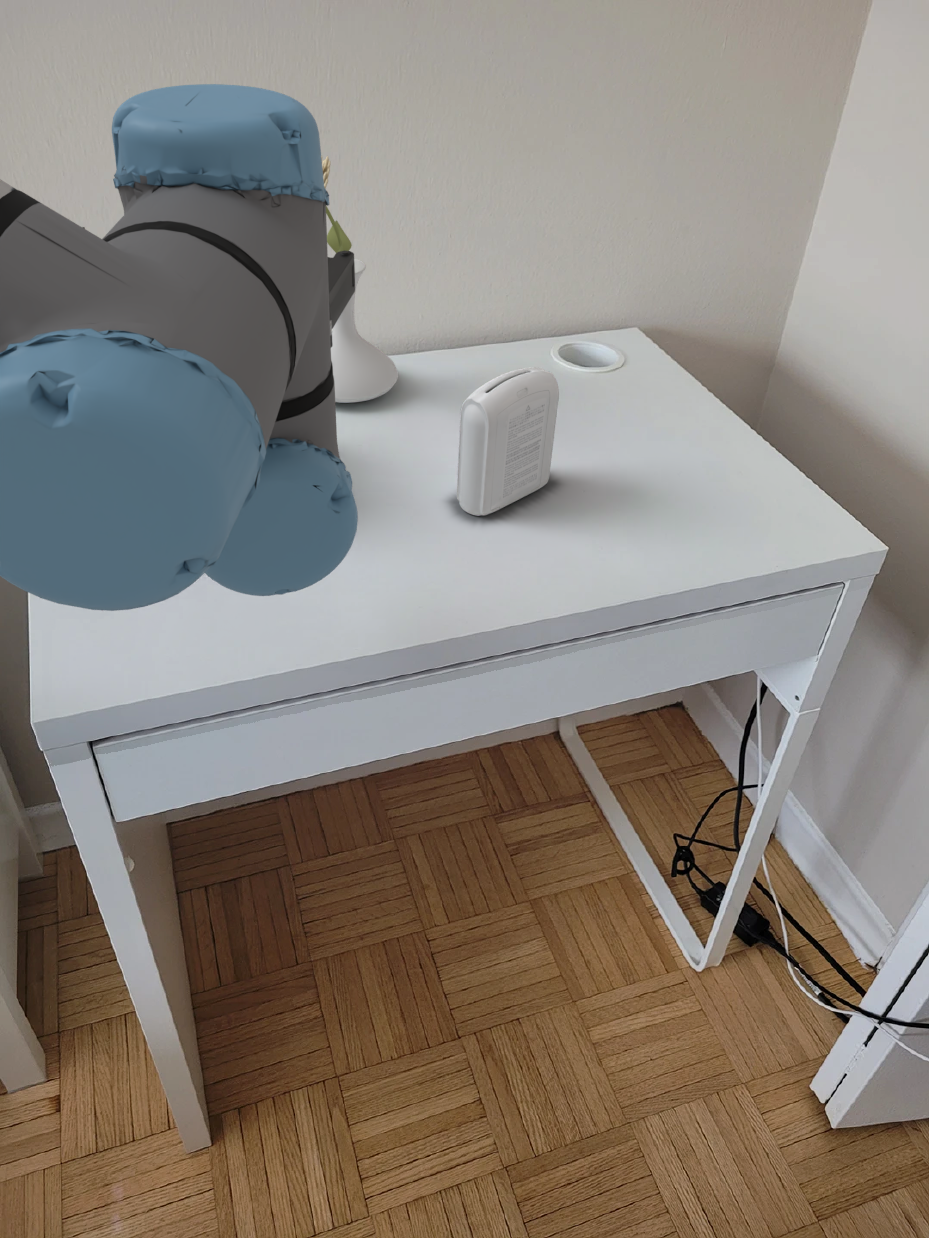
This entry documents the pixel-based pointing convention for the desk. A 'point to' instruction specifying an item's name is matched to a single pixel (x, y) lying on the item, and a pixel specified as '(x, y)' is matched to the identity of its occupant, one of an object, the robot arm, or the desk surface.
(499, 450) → the photo printer
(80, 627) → the desk surface
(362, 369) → the flower in vase
